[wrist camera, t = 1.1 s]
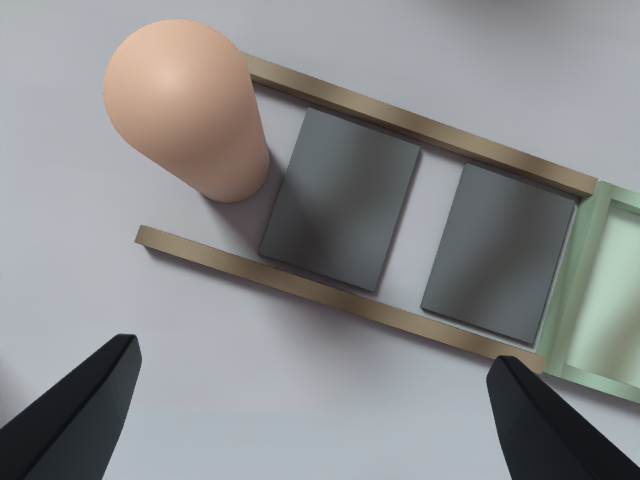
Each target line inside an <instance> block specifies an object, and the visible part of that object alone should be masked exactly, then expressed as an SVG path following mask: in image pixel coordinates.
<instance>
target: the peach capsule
mask: <svg viewBox="0 0 640 480" xmlns="http://www.w3.org/2000/svg"><path fill="white" fill-rule="evenodd" d="M103 94H104V102H105V106H106V110H107V113H108V116H109V118H110V120H111V122H112V124H113V126H114V127H115V129H116V131H117V132H118V133H119V134H120V136H121V137H122V138H123V139H124V140H125V141H126V142H127V143H128V144H129V145H131V146H132V147H133V148H135V149H136V150H137V151H139V152H140V153H142V154H143V155H145V156H146V157H148V158H149V159H151V160H152V161H154V162H155V163H157V164H158V165H160V166H161V167H163V168H164V169H166V170H167V171H168V172H170V173H171V174H173V175H174V176H176V177H177V178H179V179H180V180H182V181H183V182H185V183H186V184H188V185H189V186H191V187H192V188H194V189H195V190H197V191H198V192H200V193H201V194H203V195H204V196H206V197H207V198H209V199H212V200H214V201H217V202H222V203H235V202H239V201H243V200H245V199H247V198H249V197H251V196H252V195H254V194H255V193H256V192H257V191H258V190H259V189H260V188H261V187H262V185H263V184H264V182H265V180H266V178H267V176H268V172H269V167H270V158H269V152H268V148H267V144H266V140H265V136H264V131H263V127H262V123H261V119H260V115H259V111H258V106H257V102H256V98H255V94H254V90H253V85H252V81H251V77H250V74H249V70H248V67H247V65H246V63H245V60H244V59H243V57H242V55H241V53H240V52H239V51H238V49H237V48H236V47H235V45H234V44H233V43H232V42H231V41H230V40H229V39H228V38H226V37H225V36H224V35H223V34H221V33H220V32H218V31H217V30H215V29H213V28H211V27H209V26H207V25H204V24H202V23H198V22H195V21H190V20H181V19H172V20H163V21H159V22H155V23H152V24H149V25H146V26H144V27H142V28H141V29H139V30H137V31H135V32H134V33H133V34H131V35H130V36H129V37H128V38H126V39H125V40H124V41H123V42H122V43H121V45H120V46H119V47H118V48H117V49H116V51H115V53H114V54H113V56H112V57H111V60H110V62H109V64H108V67H107V70H106V73H105V78H104V92H103Z"/></svg>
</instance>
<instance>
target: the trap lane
mask: <svg viewBox="0 0 640 480" xmlns="http://www.w3.org/2000/svg"><path fill="white" fill-rule="evenodd" d="M239 52H240V53H241V55H242V57H243V59H244V60H245V63H246V65H247V67H248V70H249V74H250V77H251V81H253V82H256V83H259V84H262V85H265V86H268V87H270V88H273V89H276V90H279V91H282V92H284V93H287V94H290V95H293V96H296V97H299V98H301V99H304V100H307V101H310V102H313V103H316V104H318V105H321V106H324V107H327V108H330V109H333V110H335V111H338V112H341V113H344V114H347V115H350V116H352V117H355V118H358V119H361V120H364V121H367V122H369V123H372V124H375V125H378V126H381V127H384V128H386V129H389V130H392V131H395V132H398V133H401V134H403V135H406V136H409V137H412V138H415V139H418V140H420V141H423V142H426V143H429V144H432V145H435V146H437V147H440V148H443V149H446V150H449V151H452V152H454V153H457V154H460V155H463V156H466V157H469V158H471V159H474V160H477V161H480V162H483V163H485V164H488V165H491V166H494V167H497V168H500V169H502V170H505V171H508V172H511V173H514V174H517V175H519V176H522V177H525V178H528V179H531V180H534V181H536V182H539V183H542V184H545V185H548V186H551V187H553V188H556V189H559V190H562V191H565V192H568V193H570V194H573V195H576V196H579V197H581V200H580V203H579V207H578V210H577V214H576V217H575V220H574V224H573V227H572V231H571V234H570V238H569V241H568V244H567V248H566V251H565V255H564V258H563V262H562V265H561V268H560V272H559V275H558V279H557V282H556V286H555V289H554V292H553V296H552V299H551V303H550V306H549V309H548V313H547V316H546V320H545V323H544V327H543V330H542V333H541V337H540V340H539V344H538V347H537V351H536V354H535V353H532V352H529V351H526V350H523V349H520V348H517V347H514V346H511V345H508V344H505V343H502V342H498V341H495V340H492V339H489V338H486V337H483V336H480V335H477V334H474V333H471V332H468V331H465V330H462V329H459V328H456V327H453V326H450V325H447V324H444V323H441V322H438V321H435V320H431V319H428V318H425V317H422V316H419V315H416V314H413V313H410V312H407V311H404V310H401V309H398V308H395V307H392V306H389V305H386V304H383V303H380V302H377V301H374V300H371V299H367V298H364V297H361V296H358V295H355V294H352V293H349V292H346V291H343V290H340V289H337V288H334V287H331V286H328V285H325V284H322V283H319V282H316V281H313V280H310V279H307V278H304V277H300V276H297V275H294V274H291V273H288V272H285V271H282V270H279V269H276V268H273V267H270V266H267V265H264V264H261V263H258V262H255V261H252V260H249V259H246V258H243V257H240V256H237V255H233V254H230V253H227V252H224V251H221V250H218V249H215V248H212V247H209V246H206V245H203V244H200V243H197V242H194V241H191V240H188V239H185V238H182V237H179V236H176V235H173V234H170V233H166V232H163V231H160V230H157V229H154V228H151V227H148V226H144V225H140V228H139V230H138V233H137V236H136V239H135V243H138V244H141V245H144V246H147V247H150V248H153V249H157V250H160V251H163V252H166V253H169V254H172V255H175V256H178V257H181V258H184V259H187V260H190V261H193V262H196V263H200V264H203V265H206V266H209V267H212V268H215V269H218V270H221V271H224V272H227V273H230V274H233V275H236V276H239V277H243V278H246V279H249V280H252V281H255V282H258V283H261V284H264V285H267V286H270V287H273V288H276V289H279V290H283V291H286V292H289V293H292V294H295V295H298V296H301V297H304V298H307V299H310V300H313V301H316V302H319V303H322V304H326V305H329V306H332V307H335V308H338V309H341V310H344V311H347V312H350V313H353V314H356V315H359V316H362V317H365V318H369V319H372V320H375V321H378V322H381V323H384V324H387V325H390V326H393V327H396V328H399V329H402V330H405V331H408V332H412V333H415V334H418V335H421V336H424V337H427V338H430V339H433V340H436V341H439V342H442V343H445V344H448V345H451V346H455V347H458V348H461V349H464V350H467V351H470V352H473V353H476V354H479V355H482V356H485V357H488V358H491V359H494V360H495V359H496V357H497V356H499V355H508V356H514V357H516V358H518V359H519V360H520V361H521V362H522V363H523V364H525V365H526V366H527V367H528V368H529V369H530V370H531V371H532V372H534V373H537V374H542V371H543V372H545V373H547V374H550V375H553V376H556V377H559V378H562V379H565V380H568V381H571V382H574V383H578V384H581V385H584V386H587V387H590V388H593V389H596V390H599V391H602V392H605V393H608V394H611V395H614V396H617V397H620V398H624V399H627V400H630V401H633V402H636V403H639V404H640V194H638V193H635V192H632V191H630V190H627V189H624V188H621V187H618V186H615V185H613V184H610V183H607V182H604V181H600V182H597V181H598V179H597V178H594V177H591V176H588V175H586V174H583V173H580V172H577V171H574V170H572V169H569V168H566V167H563V166H560V165H558V164H555V163H552V162H549V161H546V160H544V159H541V158H538V157H535V156H532V155H530V154H527V153H524V152H521V151H518V150H516V149H513V148H510V147H507V146H504V145H502V144H499V143H496V142H493V141H490V140H488V139H485V138H482V137H479V136H476V135H473V134H471V133H468V132H465V131H462V130H459V129H457V128H454V127H451V126H448V125H445V124H443V123H440V122H437V121H434V120H431V119H429V118H426V117H423V116H420V115H417V114H415V113H412V112H409V111H406V110H403V109H401V108H398V107H395V106H392V105H389V104H387V103H384V102H381V101H378V100H375V99H373V98H370V97H367V96H364V95H361V94H359V93H356V92H353V91H350V90H347V89H345V88H342V87H339V86H336V85H333V84H331V83H328V82H325V81H322V80H319V79H317V78H314V77H311V76H308V75H305V74H303V73H300V72H297V71H294V70H291V69H289V68H286V67H283V66H280V65H277V64H274V63H272V62H269V61H266V60H263V59H260V58H258V57H255V56H252V55H249V54H246V53H244V52H241V51H239ZM419 150H420V146H417V145H415V144H412V143H409V142H406V141H403V140H400V139H398V138H395V137H392V136H389V135H386V134H383V133H381V132H378V131H375V130H372V129H369V128H366V127H364V126H361V125H358V124H355V123H352V122H349V121H346V120H344V119H341V118H338V117H335V116H332V115H329V114H327V113H324V112H321V111H318V110H315V109H312V108H310V107H308V109H307V112H306V115H305V118H304V121H303V124H302V127H301V130H300V133H299V136H298V139H297V142H296V145H295V148H294V151H293V153H292V156H291V159H290V162H289V165H288V168H287V171H286V174H285V177H284V180H283V183H282V186H281V189H280V192H279V195H278V198H277V201H276V204H275V206H274V209H273V212H272V215H271V218H270V221H269V224H268V227H267V230H266V233H265V236H264V239H263V242H262V245H261V248H260V251H259V254H261V255H264V256H267V257H270V258H273V259H276V260H279V261H282V262H285V263H288V264H291V265H294V266H297V267H300V268H303V269H306V270H309V271H312V272H315V273H318V274H321V275H324V276H328V277H331V278H334V279H337V280H340V281H343V282H346V283H349V284H352V285H355V286H358V287H361V288H364V289H367V290H370V291H373V292H374V290H375V287H376V284H377V281H378V278H379V275H380V271H381V268H382V265H383V262H384V259H385V256H386V253H387V250H388V246H389V243H390V240H391V237H392V234H393V231H394V228H395V225H396V221H397V218H398V215H399V212H400V209H401V206H402V203H403V200H404V196H405V193H406V190H407V187H408V184H409V181H410V178H411V175H412V171H413V168H414V165H415V162H416V159H417V156H418V153H419ZM574 202H575V201H574V200H571V199H568V198H565V197H562V196H559V195H556V194H554V193H551V192H548V191H545V190H542V189H539V188H537V187H534V186H531V185H528V184H525V183H522V182H520V181H517V180H514V179H511V178H508V177H505V176H503V175H500V174H497V173H494V172H491V171H488V170H486V169H483V168H480V167H477V166H474V165H471V164H469V163H467V164H465V165H464V168H463V171H462V174H461V178H460V181H459V184H458V187H457V190H456V194H455V197H454V200H453V203H452V207H451V210H450V213H449V216H448V219H447V223H446V226H445V229H444V232H443V235H442V239H441V242H440V245H439V248H438V251H437V255H436V258H435V261H434V264H433V267H432V271H431V274H430V277H429V280H428V283H427V287H426V290H425V293H424V296H423V299H422V303H421V306H420V307H422V308H425V309H428V310H431V311H434V312H437V313H440V314H443V315H446V316H449V317H452V318H455V319H458V320H461V321H464V322H467V323H470V324H473V325H476V326H479V327H482V328H485V329H488V330H491V331H494V332H497V333H500V334H504V335H507V336H510V337H513V338H516V339H519V340H522V341H525V342H528V343H531V344H533V342H534V338H535V335H536V332H537V328H538V325H539V321H540V318H541V314H542V311H543V308H544V304H545V301H546V297H547V294H548V291H549V287H550V284H551V280H552V277H553V273H554V270H555V267H556V263H557V260H558V256H559V253H560V250H561V246H562V243H563V239H564V236H565V232H566V229H567V226H568V222H569V219H570V215H571V212H572V209H573V205H574Z"/></svg>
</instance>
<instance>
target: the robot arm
mask: <svg viewBox="0 0 640 480" xmlns="http://www.w3.org/2000/svg"><path fill="white" fill-rule="evenodd" d="M141 363H142V356H141V351H140V347H139V343H138V339H137V336H136V335H134V334H118V335H116V336H114V337H113V338H112V339H110V340H109V341H108V342H107V343H106V344H104V345H103V346H102V347H101V348H99V349H98V350H97V351H96V352H94V353H93V354H92V355H91V356H90V357H88V358H87V359H86V360H85V361H83V362H82V363H81V364H80V365H78V366H77V367H76V368H75V369H74V370H72V371H71V372H70V373H69V374H67V375H66V376H65V377H64V378H62V379H61V380H60V381H59V382H58V383H56V384H55V385H54V386H53V387H51V388H50V389H49V390H48V391H46V392H45V393H44V394H43V395H42V396H40V397H39V398H38V399H37V400H35V401H34V402H33V403H32V404H30V405H29V406H28V407H27V408H26V409H24V410H23V411H22V412H21V413H19V414H18V415H17V416H16V417H14V418H13V419H12V420H11V421H10V422H8V423H7V424H6V425H5V426H3V427H2V428H1V429H0V480H102V478H103V475H104V473H105V470H106V468H107V466H108V463H109V461H110V458H111V456H112V453H113V451H114V449H115V446H116V444H117V441H118V439H119V436H120V434H121V431H122V429H123V426H124V422H125V419H126V416H127V413H128V409H129V406H130V402H131V399H132V395H133V392H134V389H135V385H136V382H137V378H138V375H139V371H140V368H141ZM486 383H487V388H488V393H489V397H490V402H491V406H492V411H493V415H494V420H495V424H496V429H497V433H498V437H499V441H500V445H501V448H502V451H503V454H504V457H505V460H506V463H507V466H508V469H509V472H510V475H511V478H512V480H640V468H639V467H638V466H637V465H636V464H635V463H634V462H633V461H632V460H631V459H629V458H628V457H627V456H626V455H625V454H624V453H623V452H622V451H621V450H619V449H618V448H617V447H616V446H615V445H614V444H613V443H612V442H610V441H609V440H608V439H607V438H606V437H605V436H604V435H603V434H602V433H600V432H599V431H598V430H597V429H596V428H595V427H594V426H593V425H591V424H590V423H589V422H588V421H587V420H586V419H585V418H584V417H583V416H581V415H580V414H579V413H578V412H577V411H576V410H575V409H574V408H573V407H571V406H570V405H569V404H568V403H567V402H566V401H565V400H564V399H562V398H561V397H560V396H559V395H558V394H557V393H556V392H555V391H554V390H552V389H551V388H550V387H549V386H548V385H547V384H546V383H545V382H544V381H542V380H541V379H540V378H539V377H538V376H537V375H536V374H535V373H533V372H532V371H531V370H530V369H529V368H528V367H527V366H526V365H525V364H523V363H522V362H521V361H520V360H519V359H518V358H516V357H514V356H508V355H499V356H497V357H496V359H495V361H494V363H493V365H492V366H491V368H490V370H489V372H488V374H487V378H486Z"/></svg>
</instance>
